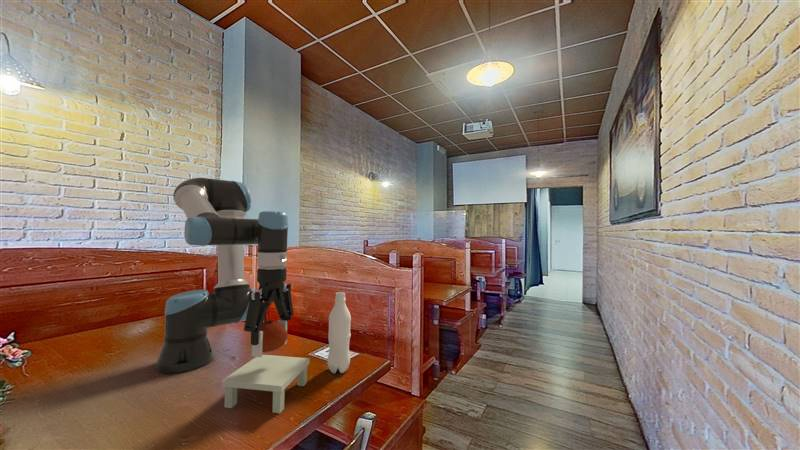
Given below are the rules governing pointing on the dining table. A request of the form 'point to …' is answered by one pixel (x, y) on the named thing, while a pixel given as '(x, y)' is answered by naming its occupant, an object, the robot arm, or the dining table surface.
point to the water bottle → (339, 335)
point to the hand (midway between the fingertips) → (270, 349)
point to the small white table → (266, 378)
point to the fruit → (273, 336)
